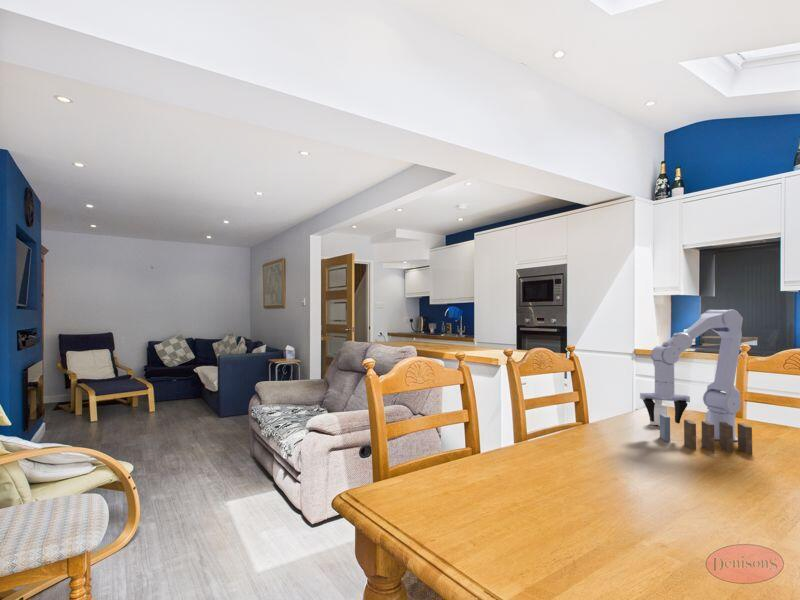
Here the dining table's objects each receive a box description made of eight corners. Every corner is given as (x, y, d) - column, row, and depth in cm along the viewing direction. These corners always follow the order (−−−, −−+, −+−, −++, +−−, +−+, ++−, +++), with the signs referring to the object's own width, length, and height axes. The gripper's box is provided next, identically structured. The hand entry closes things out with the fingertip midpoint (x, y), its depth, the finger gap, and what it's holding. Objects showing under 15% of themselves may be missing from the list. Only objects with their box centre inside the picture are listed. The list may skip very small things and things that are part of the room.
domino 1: (664, 441, 143) (664, 417, 143) (659, 437, 148) (659, 413, 148) (670, 441, 142) (670, 417, 143) (665, 437, 147) (664, 414, 147)
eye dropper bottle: (663, 427, 160) (663, 395, 160) (648, 424, 164) (647, 393, 165) (669, 426, 162) (668, 394, 163) (653, 422, 167) (653, 392, 167)
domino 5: (746, 453, 131) (745, 427, 131) (737, 448, 136) (737, 423, 136) (752, 453, 130) (751, 427, 131) (743, 448, 135) (743, 423, 136)
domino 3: (708, 450, 133) (708, 424, 134) (701, 445, 138) (701, 420, 138) (714, 450, 133) (714, 425, 133) (707, 446, 138) (707, 421, 138)
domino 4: (727, 451, 132) (726, 425, 132) (719, 447, 137) (719, 421, 137) (733, 452, 132) (732, 426, 132) (725, 447, 137) (724, 422, 137)
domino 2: (690, 449, 135) (690, 423, 135) (684, 444, 140) (683, 419, 140) (696, 449, 134) (695, 423, 135) (689, 444, 139) (689, 420, 139)
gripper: (644, 382, 143) (644, 423, 143) (693, 384, 140) (693, 426, 139) (638, 379, 150) (638, 418, 150) (685, 381, 147) (685, 421, 146)
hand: (664, 421), depth 145 cm, fingers open, 7 cm apart
